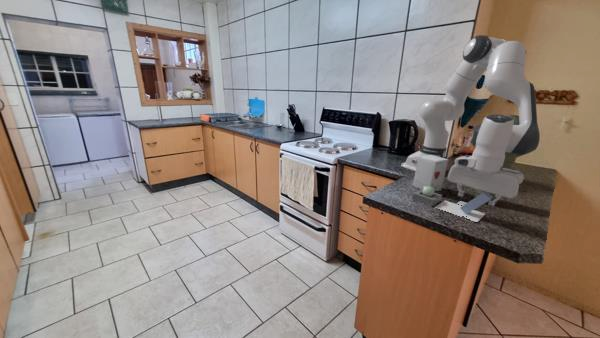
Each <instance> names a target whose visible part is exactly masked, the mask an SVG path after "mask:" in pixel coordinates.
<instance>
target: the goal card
mask: <svg viewBox="0 0 600 338" xmlns="http://www.w3.org/2000/svg"><path fill="white" fill-rule="evenodd" d="M466 203H467V202H465V201H462V200H460V201H458V202H457V203H456V204H457V205H458V204H459V205H460V206H461V205H462V206H463V205H465V204H466Z"/></svg>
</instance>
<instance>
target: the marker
mask: <svg viewBox="0 0 600 338" xmlns="http://www.w3.org/2000/svg"><path fill="white" fill-rule="evenodd" d="M492 198H493V197H492V196H491V195H490V194H489V193H488V192H486V191H485V192H483V193H482V194H480V195H479V196H477V197H476V198H474V197H473V199H471V200H470V201H468V202H465V203H466V204H465V205H463V206H462V207H460V209H461V210H462V211H463V212H464V213H465V214H468V213H469V212H471V211H473V210H476V209H478V208H480V207H481V206H482V205H484V204H487V203H486V202H488V201H489V200H491V199H492Z"/></svg>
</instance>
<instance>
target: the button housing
mask: <svg viewBox="0 0 600 338" xmlns="http://www.w3.org/2000/svg"><path fill="white" fill-rule="evenodd" d="M422 192H423V189H419V190H417V191H415V192H414V193H413V194H412V199H414V200H416V201H419V202H421V203H420V204H422V203H424V204H423V205H425V204H427V205H430V206H433V207H435V206H436V205H437V203H438V204H440V203H441V201H442V196H443V194H439V193H437V192H434V193H433V197H432V198H430V197H427V196H424V195H422ZM412 199H411V200H412ZM414 200H413V201H414ZM416 201H415V202H416ZM419 202H418V203H419ZM435 204H436V205H435ZM427 205H426V206H427ZM430 206H429V207H430Z"/></svg>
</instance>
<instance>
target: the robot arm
mask: <svg viewBox="0 0 600 338" xmlns="http://www.w3.org/2000/svg"><path fill="white" fill-rule="evenodd" d="M526 55H527V51H526V46H525V45H524V44H523V42H520V41H517V40H506V39H503V38H497V37H492V36H488V35H483V34H481V35H476V36H474V37H472V38H471V39H470V40H468V42H467V44H466V45H465V47H464V49H463V52H462V61H461V62H460V64H459V65H458V66H457V67H456V69H455V70H454V72H453V73H452V75H451V76H450V78H449V79H448V80H447V82H446V84H445V90H446V92H445V96H444V97H443V98H442V99H432V100H428V101H425V102H423V104H422V105H421V106H420V108H419V116H420V118H421V119H422V120H423V122H424V127H425V134H424V141H423V144H421V145H419V146H418V149H419V150H418V151H415V152H414V153H411V154H410V155H408V156H407V158H406V161H405V162H402V163H401V165H400V167H402V168H404V169H407V170H410V171H413V172H416V167H417V162H418V157H419V156H425V155H434V156H438V157H441V158H445V157H446V154H447V145H448V140H449V135H450V134H449V131H448V130H447V128H446V122H450V121H454V120H457V119H460V118H462V116H463V115H464V113H465V102H466V100H467V97H468V96H469V94H470V93H471V92H472V90H473V89H474V87H475V86H476V85H477V83H478V82H479V80H480V79H481V78H482V76H483V75H484V73H485V75H484V76H485V77H484V88H486V90H487V91H488V92H489V93H491V94H492V95H494V96H495V97H498V98H499V97H500V98H503V99H505V100H508V101H510V102H512V103H514V104H515V105H516V106H517V108H518V116H519V125H513V119H512V118H511V117H509V115H504V114H489V115H486V116H485V117H484V118H483V120H482V122H481V123H479V124H477V125H476V126H474V127H473V128H472V130H473V132H472V135H471V139H470V141H469V143H470V144H471V145H472V146H473V147H474V150H473V152H472V155H463V156H458V157H457V158H455V159H454V164H453V165H452V166H451V167H450V170H449V172H448V174H447V180H448V182H451V183H454V184H456V188H457V191H458V194H457V195H458V197H459V196H460V197H464V196H465V193H466V191H464V190H463V188H462V187H463V186H465V187H468V188H471V189H474V190H475V189H479V190H482V191H486V192H490V193H493V194H496V195H495V197H497V198H495V199H494V200H493V199H491V200H490V201H489V203H487V204H488V205H489V206H491V207H494V206H495V205H496V204H495V202H496V201H497V200H498V201H499V200H500V199H501V198H502V197H504V198H508V199H514V198H516V197H517V195H518V193H519V187H520V185H521V184H522V183H523V181H524V179H525V176H524V174H523V172H520V170H518V169H512V168H510V169H509V168H505V167H502V166H503V163H504V159H505V152H508V153H512V154H517V155H522V156H526V155H528V154H531V153H532V152H534V151H536V150H537V148H538V147H539V145H540V141H541V137H540V129H539V125H538V113H537V98H536V89H535V86H534V84H533V83H532V82H530V81H528V79H527V78H526V76H525V67H526V58H527V57H526ZM445 159H446V158H445Z"/></svg>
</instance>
